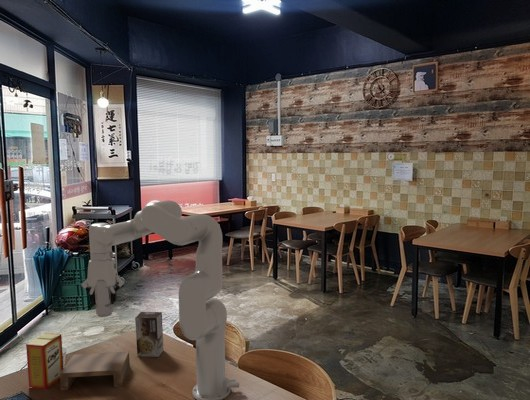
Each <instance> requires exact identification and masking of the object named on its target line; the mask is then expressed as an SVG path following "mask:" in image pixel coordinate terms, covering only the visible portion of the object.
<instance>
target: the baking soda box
mask: <svg viewBox="0 0 530 400" xmlns="http://www.w3.org/2000/svg"><path fill="white" fill-rule="evenodd" d="M62 339H63V338H62V334H60V333H47V332H44V333H43V334H40V336H38V337H36V338H35V339H33V340H31V341H29V342H28V343H26V344H25V347H26V362H27V375H28V376H27V377H28V378H27V379H28V388H29V387H32V388H31V389H34V388H38V389H37V390H44V389H45V390H48V389H49V388H50V387H51V386H53V385H54V384H56V383H57V382H58V381H59V380H60V373H61V371H62V370H63V368H64V354H63V345H62V344H63V340H62Z"/></svg>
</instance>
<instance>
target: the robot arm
mask: <svg viewBox="0 0 530 400" xmlns="http://www.w3.org/2000/svg"><path fill="white" fill-rule="evenodd" d="M182 215H183V211H182V208H181V206H180V204H179V203H177V202H176V201H173V200H162V201H156V202H155V201H154V202H150V203H148V204H146V205H145V206H144V207H143V208H142V210H139V211H137V212H136V213H135V215H134V217H133V219H130V220H127V221H122V222H117V223H114V224H113V223H112V224H110V223H107V222H95V223H92V224H90V225H89V226H88V236H89V237H88V238H89V240H88V241H89V256H90V260H89V261H88V264H87V265H88V266H87V278H86V279H85V280H83V282H82V283H81V284H80V286H81V287H82V288H84V289H85V291H87V292H88V293H89V295H90V302H91V303H92V306H96V303H95V286H96V282H97V281H98V280H100V279H102V280H104V281H106V282H107V286H108V287H110V289H111V292H112V293H111V304H113V305H115V303H116V301H117V291H119V290H120V288H122V286H123V285H124V284H125V281H124V280H123V279H122V278H121V277H120V276H118V275H119V274H118V267H117V263H116V258H114V257H116V256H117V253H116V252H114V251H113V250H112V246H117V245H120V244H124V243H129V242H132V241H135V240H137V239H140V238H143V237H146V236H147V235H150V234H152V233H153V234H155V235H157V236H159V237H161V238H163V239H164V240H165V241H168V242H169V243H171V244H173V245H175V246H176V245H177V246H185V245H189V244H191V243H195V242H198V247H197V249H196V252H195V253H196V254H195V271H194V273H191V274H189V275H187V276H186V277H185V278H184V279H183V280H182V281H181V283H180V285H179V288H178V322H179V323H178V324H179V327H180V331H181V333H182V335H183V336H184V337H185V338H186V339H188V340H190V341H195V359H196V360H195V361H196V363H195V364H196V366H195V367H196V368H195V369H196V370H195V371H196V384H195V385H194V386H193V388H192V391H191V393H192V397H193V398H194V399H196V400H224V399H226V398H227V397H228V396H229V395H230V394H231V388H238V389H239V388H240V381H239V380H237V381H236V378H228V377H227V374H226V339H225V338H226V327H227V319H228V313H227V312H228V311H227V308H226V306H225V304H224V303H223V302H222V300H220V299H217V298H214V297H215V296H217V295H219V293H220V292H221V291H222V290H223V232H222V229H221V227H220V226H221V225H220V224H219V222H217V220H216V219H214V218H213V217H212V216H210V215H208V214H203V213H196V214H191V215H187V216H183V217H182ZM117 283H118V285H116V284H117Z"/></svg>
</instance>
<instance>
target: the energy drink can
mask: <svg viewBox="0 0 530 400" xmlns="http://www.w3.org/2000/svg"><path fill="white" fill-rule="evenodd" d="M111 293H112V292H111V289H110V287H108V286H107V282H106V281H104V280H102V279H100V280H98V281H97V282H96V286H95V303H96V304H95V314H96V315H97V317H99V318H107V317H109V316H110V317H111V315H112V314H113V312H114V304H111Z"/></svg>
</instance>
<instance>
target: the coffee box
mask: <svg viewBox="0 0 530 400" xmlns="http://www.w3.org/2000/svg"><path fill="white" fill-rule="evenodd" d="M134 321H135V336H136V337H135V338H136V356H137V357H153V358H155V357H156V358H159V357H160V355H162V353H163V352H164V335H163V334H164V332H163V331H164V330H163V312H162V311H140V312H139V313H138V314H137V315H136V316H135V317H134Z"/></svg>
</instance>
